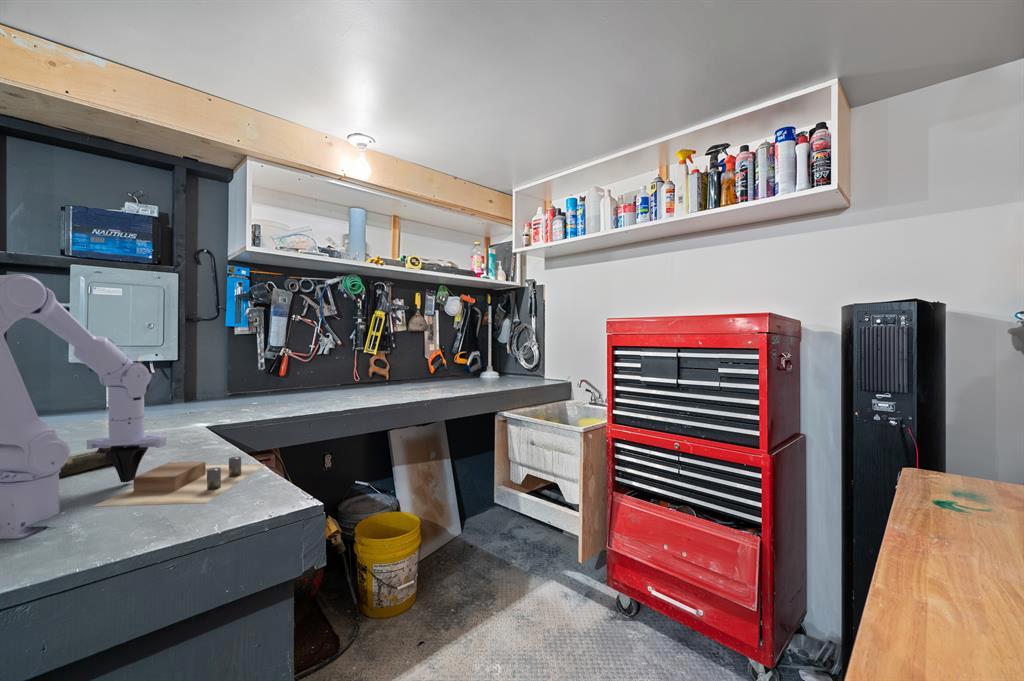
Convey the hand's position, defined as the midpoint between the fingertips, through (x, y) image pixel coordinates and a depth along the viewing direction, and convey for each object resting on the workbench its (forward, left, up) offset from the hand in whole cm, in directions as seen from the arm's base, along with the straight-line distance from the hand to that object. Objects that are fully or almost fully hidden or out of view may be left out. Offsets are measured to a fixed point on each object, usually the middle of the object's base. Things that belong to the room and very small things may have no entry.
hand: (127, 480), depth 92 cm
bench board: (0, -13, -2) cm, 13 cm away
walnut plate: (0, -9, -1) cm, 9 cm away
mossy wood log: (+18, +21, -3) cm, 27 cm away
